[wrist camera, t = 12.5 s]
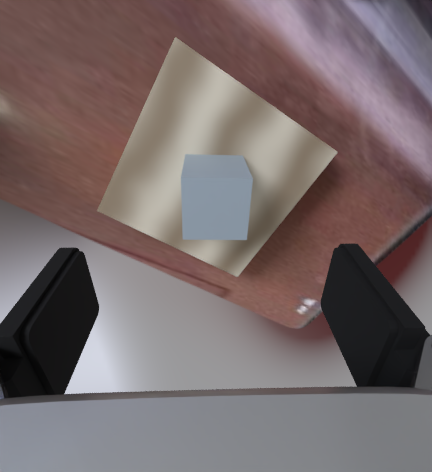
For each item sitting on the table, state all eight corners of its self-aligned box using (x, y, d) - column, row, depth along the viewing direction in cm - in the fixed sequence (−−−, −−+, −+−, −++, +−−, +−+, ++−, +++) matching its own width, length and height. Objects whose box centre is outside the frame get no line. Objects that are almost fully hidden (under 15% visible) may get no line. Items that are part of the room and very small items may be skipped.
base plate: (321, 141, 29) (337, 152, 26) (234, 256, 36) (237, 277, 32) (179, 40, 24) (175, 37, 21) (108, 194, 31) (97, 210, 28)
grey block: (242, 155, 26) (252, 178, 20) (238, 207, 28) (246, 240, 23) (185, 154, 25) (180, 177, 20) (186, 206, 28) (182, 239, 23)
